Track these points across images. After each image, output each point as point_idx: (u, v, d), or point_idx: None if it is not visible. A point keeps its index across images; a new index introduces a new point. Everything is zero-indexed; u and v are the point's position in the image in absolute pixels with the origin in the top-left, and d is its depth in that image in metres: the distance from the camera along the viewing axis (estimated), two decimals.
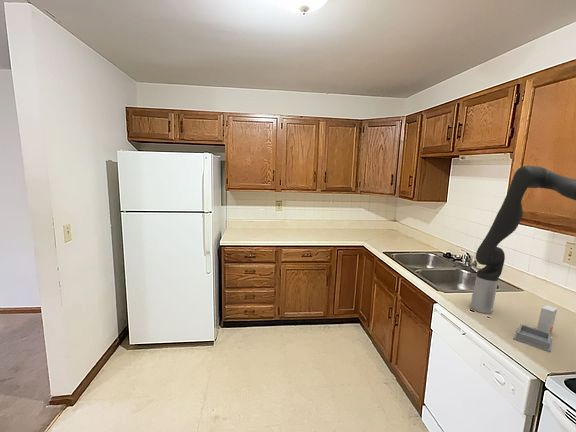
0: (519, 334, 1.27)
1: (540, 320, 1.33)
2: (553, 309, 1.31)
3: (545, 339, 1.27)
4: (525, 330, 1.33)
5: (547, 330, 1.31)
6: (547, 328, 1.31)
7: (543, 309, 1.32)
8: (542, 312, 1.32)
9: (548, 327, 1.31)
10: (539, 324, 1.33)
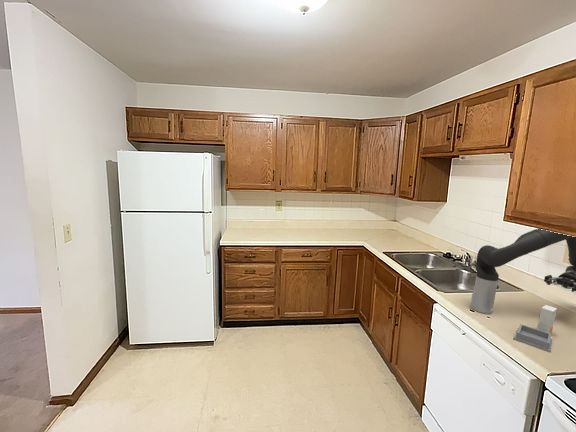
0: (519, 334, 1.27)
1: (540, 320, 1.33)
2: (553, 309, 1.31)
3: (545, 339, 1.27)
4: (525, 330, 1.33)
5: (547, 330, 1.31)
6: (547, 328, 1.31)
7: (543, 309, 1.32)
8: (542, 312, 1.32)
9: (548, 327, 1.31)
10: (539, 324, 1.33)
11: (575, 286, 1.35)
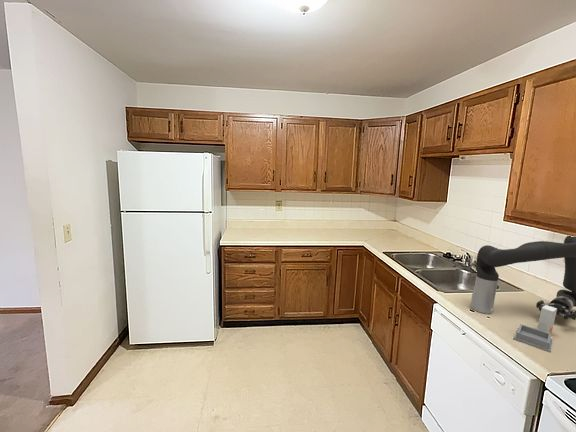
0: (519, 334, 1.27)
1: (540, 320, 1.33)
2: (553, 309, 1.31)
3: (545, 339, 1.27)
4: (525, 330, 1.33)
5: (547, 330, 1.31)
6: (547, 328, 1.31)
7: (543, 309, 1.32)
8: (542, 312, 1.32)
9: (548, 327, 1.31)
10: (539, 324, 1.33)
11: (567, 314, 1.36)
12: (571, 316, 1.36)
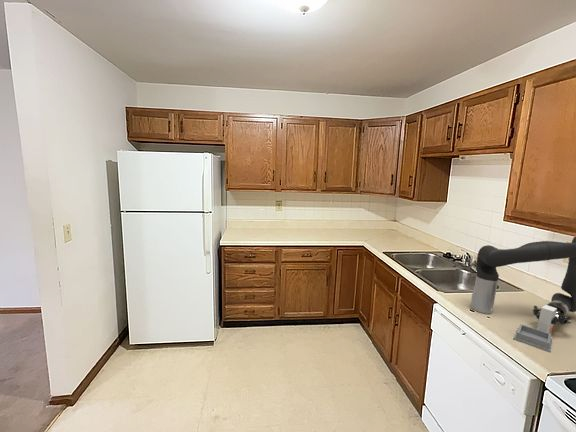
0: (519, 334, 1.27)
1: (540, 320, 1.33)
2: (553, 309, 1.31)
3: (545, 339, 1.27)
4: (525, 330, 1.33)
5: (547, 330, 1.31)
6: (547, 328, 1.31)
7: (543, 309, 1.32)
8: (542, 312, 1.32)
9: (548, 327, 1.31)
10: (539, 324, 1.33)
11: (555, 318, 1.30)
12: (559, 321, 1.31)
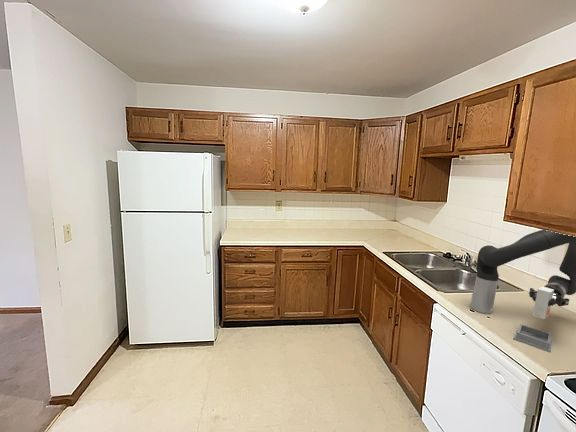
0: (519, 334, 1.27)
1: (536, 302, 1.26)
2: (550, 290, 1.24)
3: (545, 339, 1.27)
4: (525, 330, 1.33)
5: (544, 312, 1.24)
6: (544, 310, 1.24)
7: (539, 290, 1.25)
8: (538, 293, 1.25)
9: (545, 309, 1.24)
10: (535, 306, 1.26)
11: (552, 300, 1.24)
12: (557, 302, 1.24)
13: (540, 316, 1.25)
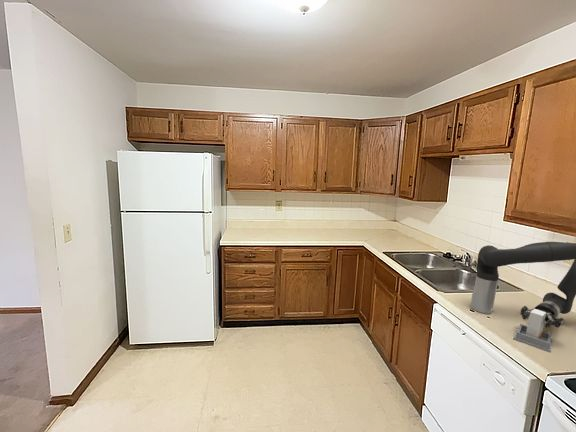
0: (519, 334, 1.27)
1: (529, 325, 1.26)
2: (542, 313, 1.25)
3: (545, 339, 1.27)
4: (525, 330, 1.33)
5: (536, 335, 1.24)
6: (536, 333, 1.24)
7: (532, 313, 1.25)
8: (531, 316, 1.25)
9: (537, 332, 1.24)
10: (528, 329, 1.26)
11: (549, 321, 1.23)
12: (554, 323, 1.23)
13: None
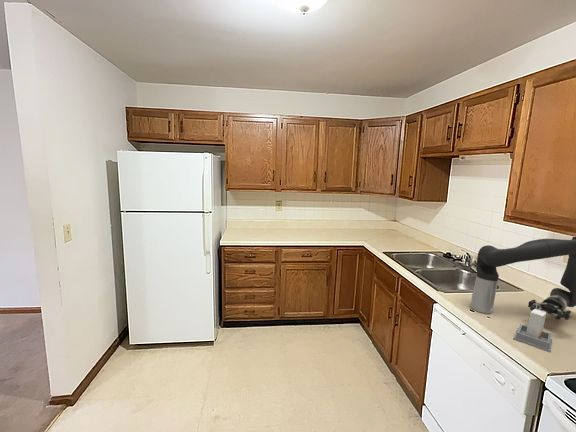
0: (519, 334, 1.27)
1: (529, 325, 1.26)
2: (542, 313, 1.25)
3: (545, 339, 1.27)
4: (525, 330, 1.33)
5: (536, 336, 1.24)
6: (536, 333, 1.24)
7: (532, 313, 1.25)
8: (531, 317, 1.25)
9: (537, 332, 1.24)
10: (528, 329, 1.26)
11: (559, 314, 1.30)
12: (564, 316, 1.30)
13: None
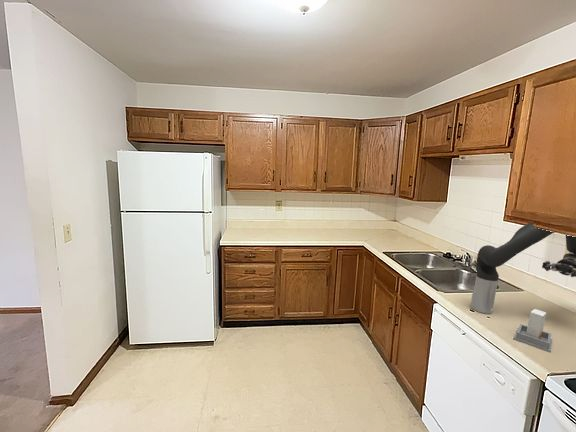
0: (519, 334, 1.27)
1: (529, 325, 1.26)
2: (542, 313, 1.25)
3: (545, 339, 1.27)
4: (525, 330, 1.33)
5: (536, 336, 1.24)
6: (536, 333, 1.24)
7: (532, 313, 1.25)
8: (531, 317, 1.25)
9: (537, 332, 1.24)
10: (528, 329, 1.26)
11: (574, 271, 1.30)
12: None
13: None
